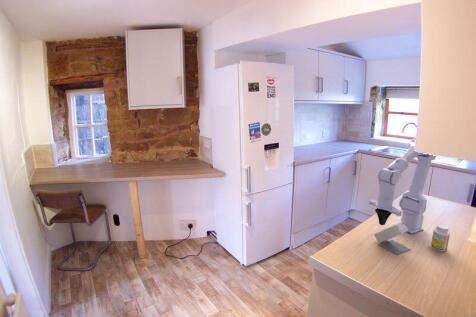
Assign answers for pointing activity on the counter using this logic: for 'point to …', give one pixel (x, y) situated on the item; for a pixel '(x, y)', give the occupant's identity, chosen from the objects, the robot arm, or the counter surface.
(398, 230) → the skincare box
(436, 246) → the supplement bottle
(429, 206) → the counter surface
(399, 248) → the mat
